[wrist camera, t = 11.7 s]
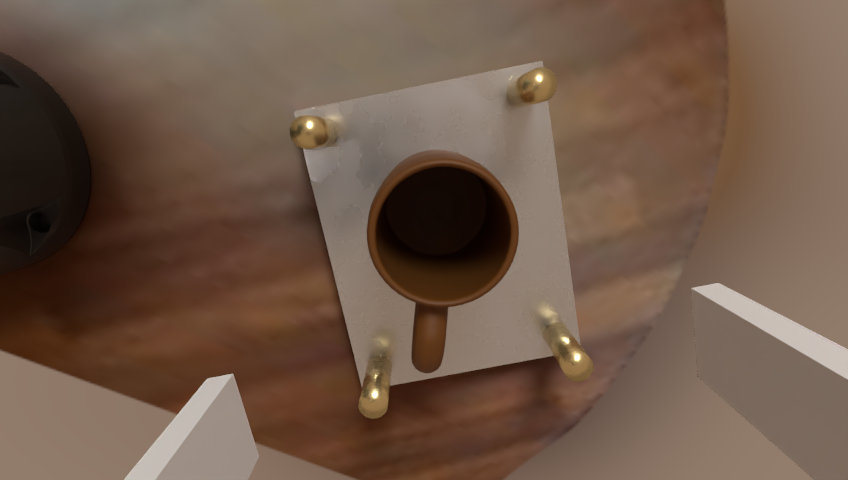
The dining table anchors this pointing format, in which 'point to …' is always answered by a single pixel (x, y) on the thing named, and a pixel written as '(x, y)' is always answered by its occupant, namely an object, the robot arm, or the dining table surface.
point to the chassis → (519, 175)
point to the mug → (440, 240)
